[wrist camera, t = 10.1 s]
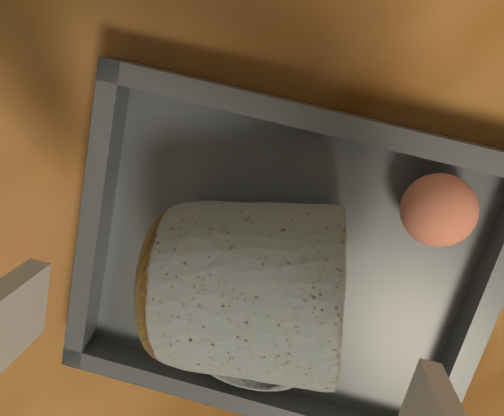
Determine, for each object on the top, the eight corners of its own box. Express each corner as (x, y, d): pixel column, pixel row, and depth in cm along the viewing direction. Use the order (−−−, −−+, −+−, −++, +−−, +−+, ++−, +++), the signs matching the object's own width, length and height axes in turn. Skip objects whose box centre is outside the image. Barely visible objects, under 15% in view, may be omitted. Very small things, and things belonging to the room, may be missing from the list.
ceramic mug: (175, 182, 23) (110, 235, 16) (344, 184, 22) (358, 242, 15) (187, 368, 26) (137, 484, 19) (336, 377, 25) (345, 505, 18)
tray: (81, 341, 27) (61, 364, 25) (118, 58, 23) (98, 56, 20) (424, 436, 26) (433, 468, 24) (537, 157, 21) (562, 166, 19)
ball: (420, 229, 23) (375, 229, 21) (442, 166, 22) (397, 161, 20) (479, 258, 20) (433, 261, 19) (506, 188, 20) (461, 185, 18)
